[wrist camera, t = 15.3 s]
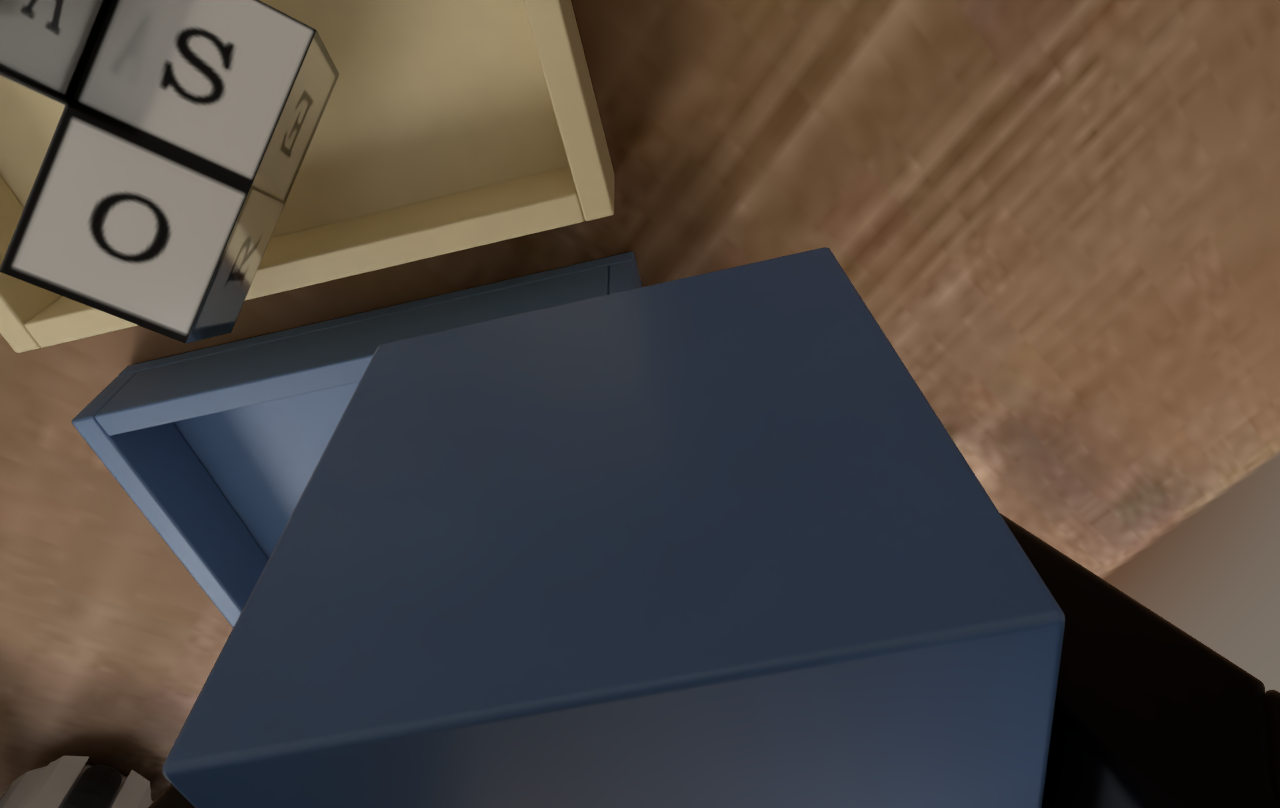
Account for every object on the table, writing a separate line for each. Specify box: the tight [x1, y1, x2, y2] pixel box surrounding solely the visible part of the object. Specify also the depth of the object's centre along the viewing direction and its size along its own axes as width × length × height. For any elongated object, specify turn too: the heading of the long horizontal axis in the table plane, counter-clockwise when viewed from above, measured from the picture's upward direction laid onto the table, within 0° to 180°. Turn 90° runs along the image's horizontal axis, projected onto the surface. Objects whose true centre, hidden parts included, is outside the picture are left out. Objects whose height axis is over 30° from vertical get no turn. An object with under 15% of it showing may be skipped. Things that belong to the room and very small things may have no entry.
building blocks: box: [0, 0, 339, 343], centre depth 11 cm, size 5×5×8 cm
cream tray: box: [0, 0, 614, 353], centre depth 14 cm, size 13×10×2 cm
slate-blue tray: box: [72, 252, 642, 628], centre depth 21 cm, size 13×10×2 cm
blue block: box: [162, 248, 1065, 808], centre depth 7 cm, size 4×4×4 cm
